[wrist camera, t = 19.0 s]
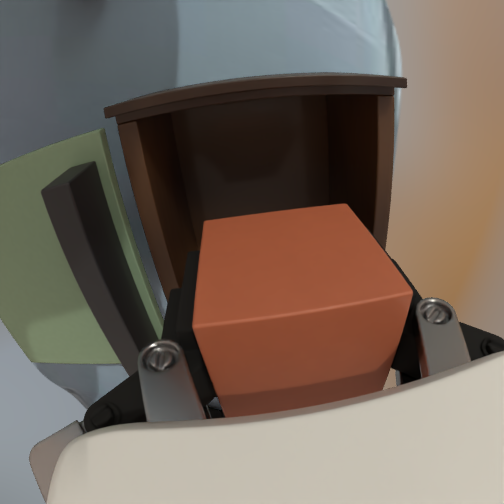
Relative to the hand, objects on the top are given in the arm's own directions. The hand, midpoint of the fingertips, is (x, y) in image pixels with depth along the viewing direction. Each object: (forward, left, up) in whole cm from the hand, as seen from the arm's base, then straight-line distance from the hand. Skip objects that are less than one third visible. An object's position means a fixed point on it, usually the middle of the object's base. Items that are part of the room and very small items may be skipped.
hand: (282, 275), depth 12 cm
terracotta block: (0, 0, 0) cm, 0 cm away
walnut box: (0, 0, -10) cm, 10 cm away
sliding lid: (0, -11, -2) cm, 11 cm away
